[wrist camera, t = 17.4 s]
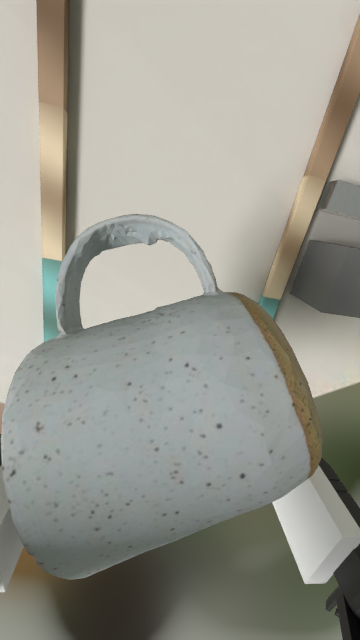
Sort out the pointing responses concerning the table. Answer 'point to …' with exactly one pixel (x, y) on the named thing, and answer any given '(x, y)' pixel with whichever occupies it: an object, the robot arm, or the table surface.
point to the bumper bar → (340, 199)
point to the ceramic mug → (150, 417)
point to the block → (330, 279)
